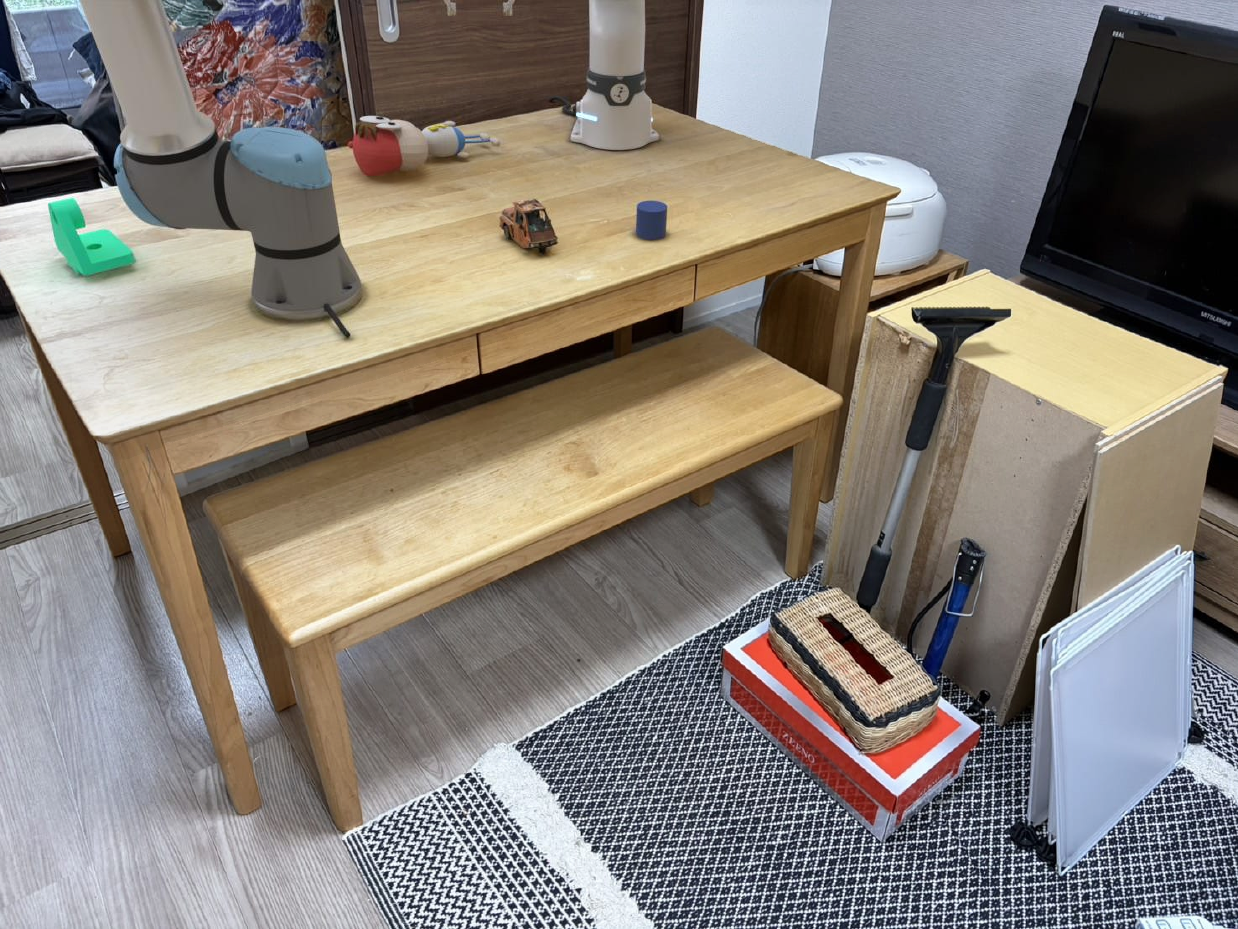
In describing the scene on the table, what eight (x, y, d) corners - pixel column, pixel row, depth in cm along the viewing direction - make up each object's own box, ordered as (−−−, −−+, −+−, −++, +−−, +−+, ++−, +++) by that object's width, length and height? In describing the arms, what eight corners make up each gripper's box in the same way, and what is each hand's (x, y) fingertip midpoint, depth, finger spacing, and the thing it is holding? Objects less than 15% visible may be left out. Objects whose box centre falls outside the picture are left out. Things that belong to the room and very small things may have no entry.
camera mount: (139, 268, 141) (119, 203, 135) (86, 282, 137) (63, 216, 130) (111, 243, 148) (91, 180, 142) (60, 256, 144) (37, 191, 137)
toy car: (524, 226, 158) (523, 186, 153) (566, 250, 150) (565, 209, 146) (492, 235, 154) (490, 194, 150) (533, 260, 147) (532, 218, 143)
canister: (665, 228, 159) (666, 200, 156) (666, 240, 155) (667, 212, 152) (635, 227, 159) (636, 199, 156) (635, 239, 155) (636, 211, 152)
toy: (516, 122, 178) (364, 126, 163) (515, 176, 183) (367, 184, 168) (475, 107, 191) (331, 109, 176) (475, 157, 196) (335, 163, 181)
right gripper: (408, -77, 145) (417, 19, 153) (538, -76, 148) (540, 18, 156) (409, -82, 150) (418, 11, 158) (535, -81, 153) (537, 10, 161)
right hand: (480, 15), depth 157 cm, fingers open, 8 cm apart
